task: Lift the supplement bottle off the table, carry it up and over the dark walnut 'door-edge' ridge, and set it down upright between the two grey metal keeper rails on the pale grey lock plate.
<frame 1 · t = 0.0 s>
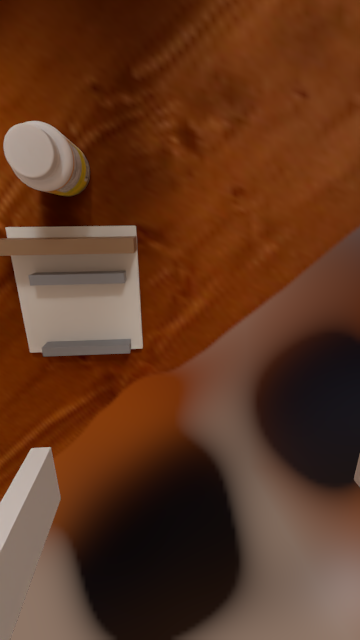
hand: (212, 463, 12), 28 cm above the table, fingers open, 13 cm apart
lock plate: (81, 291, 38), on the table
supplement bottle: (67, 171, 33), on the table
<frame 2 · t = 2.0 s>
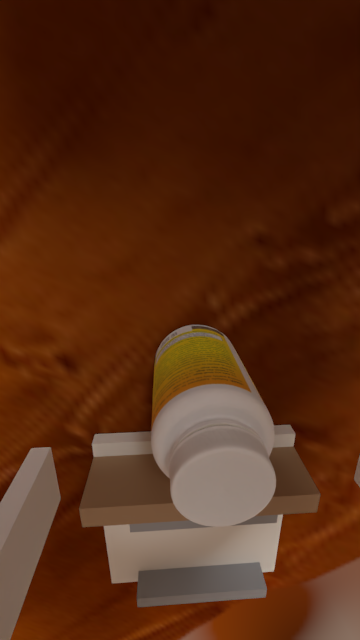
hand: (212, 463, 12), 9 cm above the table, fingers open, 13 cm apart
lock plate: (193, 504, 25), on the table
supplement bottle: (194, 357, 20), on the table
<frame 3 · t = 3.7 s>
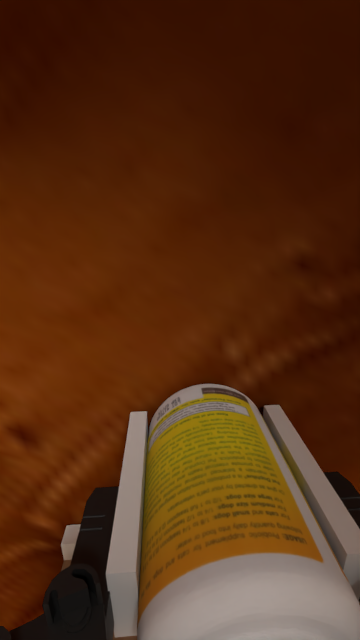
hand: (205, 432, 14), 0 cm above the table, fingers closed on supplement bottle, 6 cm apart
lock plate: (201, 604, 19), on the table
supplement bottle: (204, 424, 15), on the table, touching gripper
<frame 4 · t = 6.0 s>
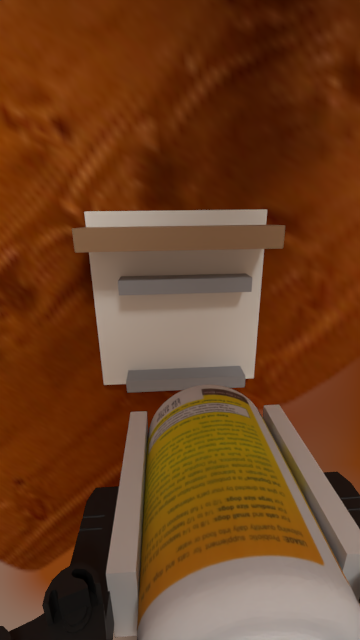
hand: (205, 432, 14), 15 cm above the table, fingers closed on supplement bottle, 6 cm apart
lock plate: (178, 301, 27), on the table
supplement bottle: (204, 425, 14), point 14 cm above the table, touching gripper
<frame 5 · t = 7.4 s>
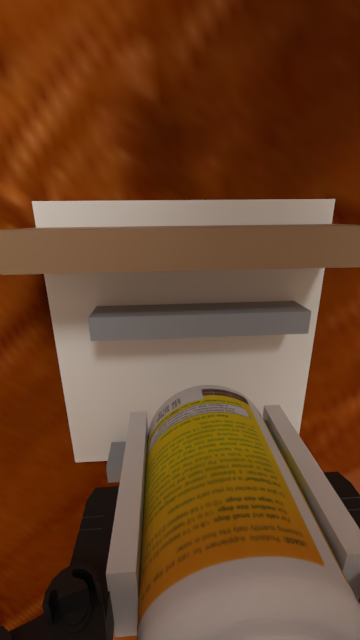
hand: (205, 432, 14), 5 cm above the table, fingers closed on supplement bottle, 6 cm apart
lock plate: (186, 341, 18), on the table
supplement bottle: (204, 426, 14), point 5 cm above the table, touching gripper
when the fingers open (3 cm above the table, at t = 8.5 s): supplement bottle drops 1 cm, resting on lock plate.
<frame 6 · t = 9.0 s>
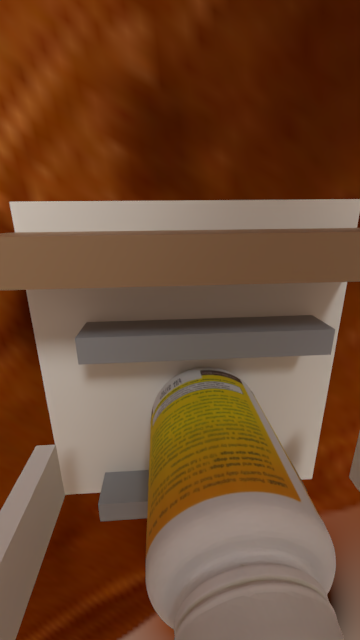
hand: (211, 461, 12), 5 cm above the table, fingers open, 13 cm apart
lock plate: (189, 359, 16), on the table
supplement bottle: (202, 406, 16), point 1 cm above the table, touching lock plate
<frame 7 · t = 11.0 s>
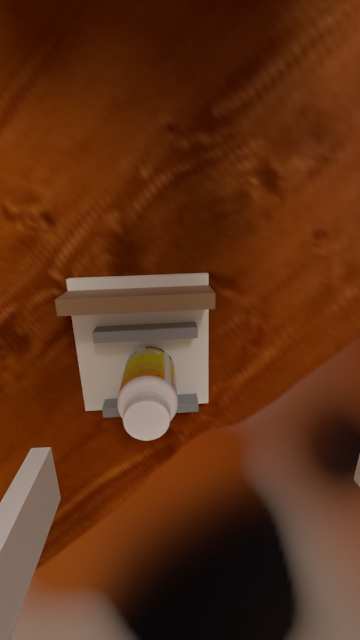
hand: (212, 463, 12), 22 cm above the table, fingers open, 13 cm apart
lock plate: (143, 343, 34), on the table
supplement bottle: (150, 365, 34), point 1 cm above the table, touching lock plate
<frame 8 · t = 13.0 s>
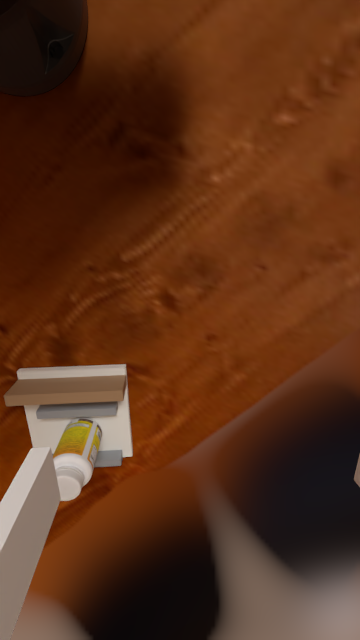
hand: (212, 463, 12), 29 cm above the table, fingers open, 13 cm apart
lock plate: (80, 413, 44), on the table
supplement bottle: (84, 429, 44), point 1 cm above the table, touching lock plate
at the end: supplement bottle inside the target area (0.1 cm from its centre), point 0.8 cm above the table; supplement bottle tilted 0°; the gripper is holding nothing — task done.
